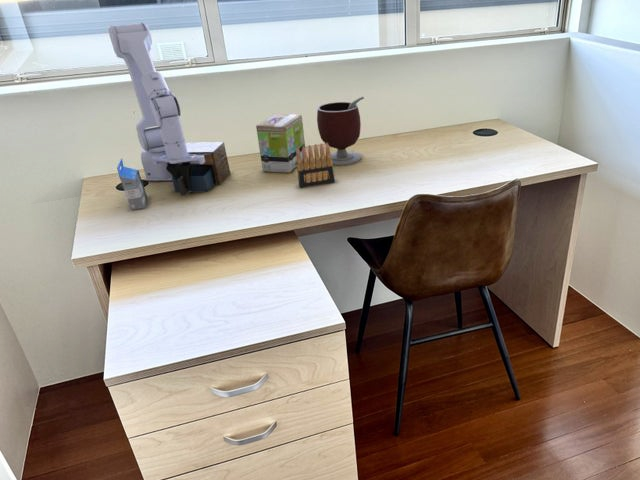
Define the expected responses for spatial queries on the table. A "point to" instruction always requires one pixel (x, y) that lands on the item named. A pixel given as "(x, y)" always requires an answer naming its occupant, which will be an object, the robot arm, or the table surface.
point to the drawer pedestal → (211, 158)
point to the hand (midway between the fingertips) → (185, 187)
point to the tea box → (280, 142)
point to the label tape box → (132, 186)
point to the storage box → (196, 180)
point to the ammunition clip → (315, 167)
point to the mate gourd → (340, 129)
